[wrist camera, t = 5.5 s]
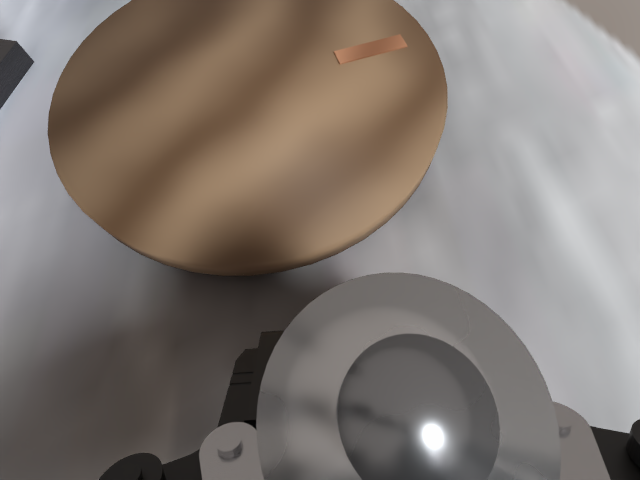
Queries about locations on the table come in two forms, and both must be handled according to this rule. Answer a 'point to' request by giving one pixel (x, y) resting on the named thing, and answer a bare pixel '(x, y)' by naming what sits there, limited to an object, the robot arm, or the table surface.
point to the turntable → (247, 127)
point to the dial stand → (11, 67)
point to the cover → (404, 390)
